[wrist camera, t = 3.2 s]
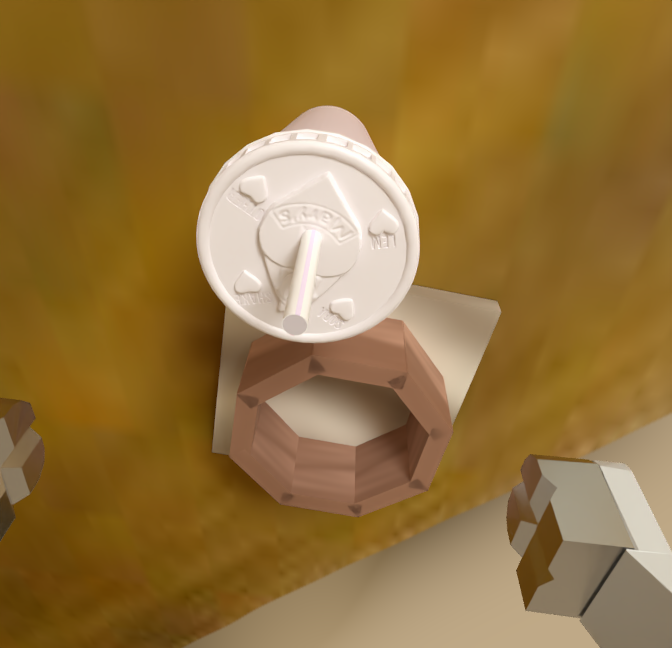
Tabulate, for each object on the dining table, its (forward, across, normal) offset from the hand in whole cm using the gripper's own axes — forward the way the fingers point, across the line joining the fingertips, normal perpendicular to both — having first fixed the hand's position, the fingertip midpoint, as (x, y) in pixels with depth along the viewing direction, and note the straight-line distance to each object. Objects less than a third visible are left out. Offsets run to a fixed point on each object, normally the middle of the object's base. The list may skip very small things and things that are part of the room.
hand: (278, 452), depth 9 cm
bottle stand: (+17, -1, +12) cm, 21 cm away
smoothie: (+17, 0, 0) cm, 17 cm away
